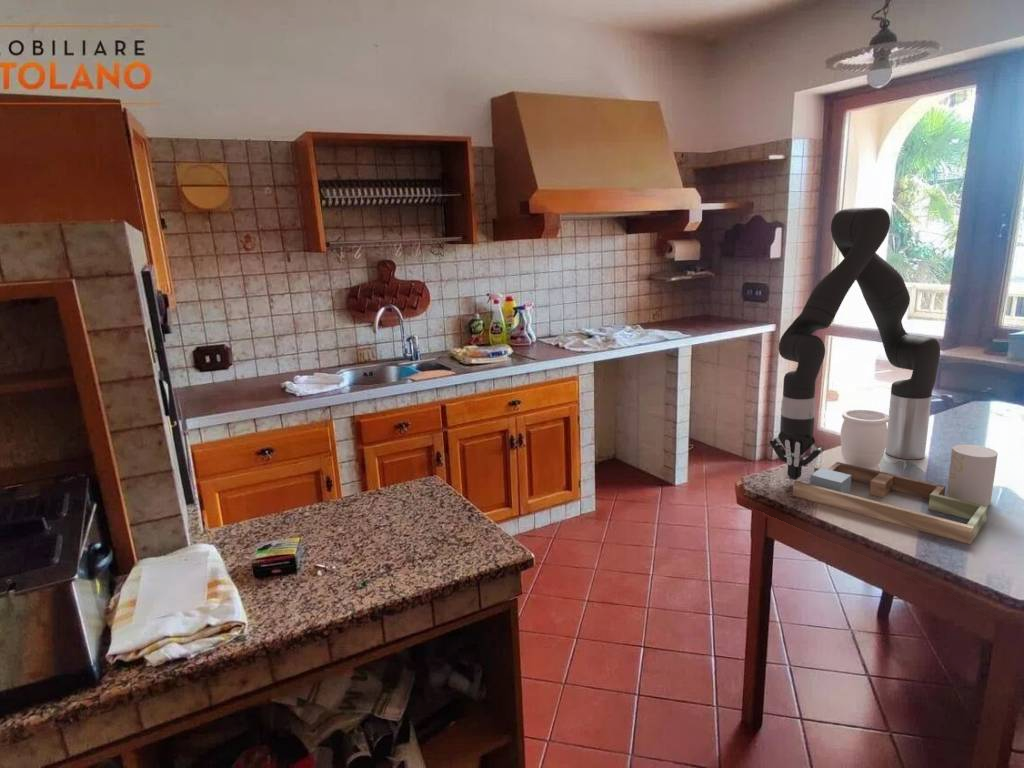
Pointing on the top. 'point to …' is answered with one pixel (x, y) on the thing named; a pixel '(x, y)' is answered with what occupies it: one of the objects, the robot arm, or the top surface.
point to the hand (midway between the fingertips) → (793, 478)
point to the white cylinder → (972, 473)
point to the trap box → (901, 516)
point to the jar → (864, 438)
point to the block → (831, 480)
